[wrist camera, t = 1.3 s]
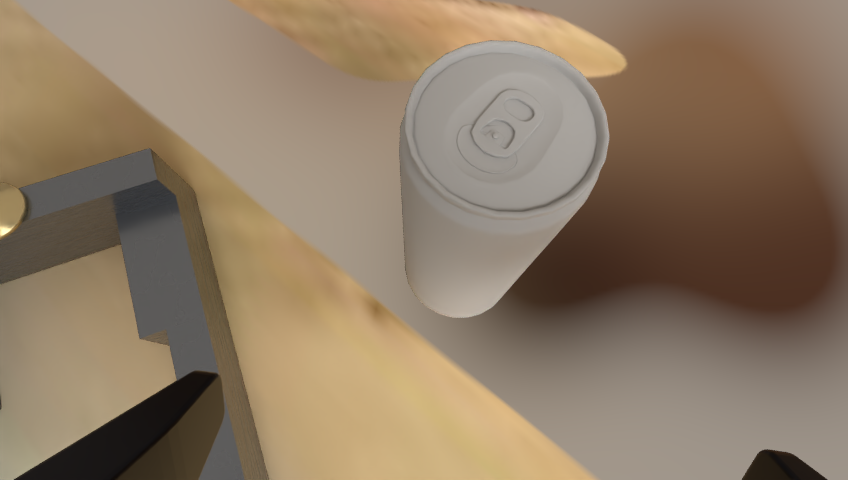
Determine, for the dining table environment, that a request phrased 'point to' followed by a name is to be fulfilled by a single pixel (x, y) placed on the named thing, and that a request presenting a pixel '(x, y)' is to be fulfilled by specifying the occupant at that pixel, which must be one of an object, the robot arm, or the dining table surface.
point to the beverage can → (492, 168)
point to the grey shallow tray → (142, 273)
